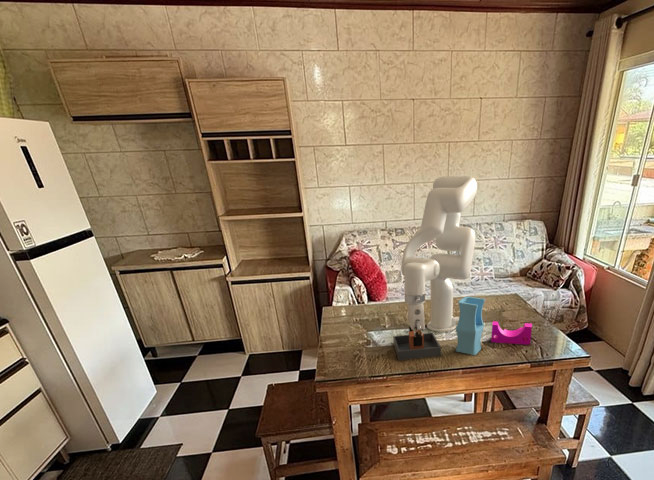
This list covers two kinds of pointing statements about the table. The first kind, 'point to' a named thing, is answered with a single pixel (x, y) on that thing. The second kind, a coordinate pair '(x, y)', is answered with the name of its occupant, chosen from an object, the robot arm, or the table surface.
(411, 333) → the wooden block
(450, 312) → the robot arm
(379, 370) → the table surface
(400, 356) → the tub
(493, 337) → the toy block
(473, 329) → the vase
